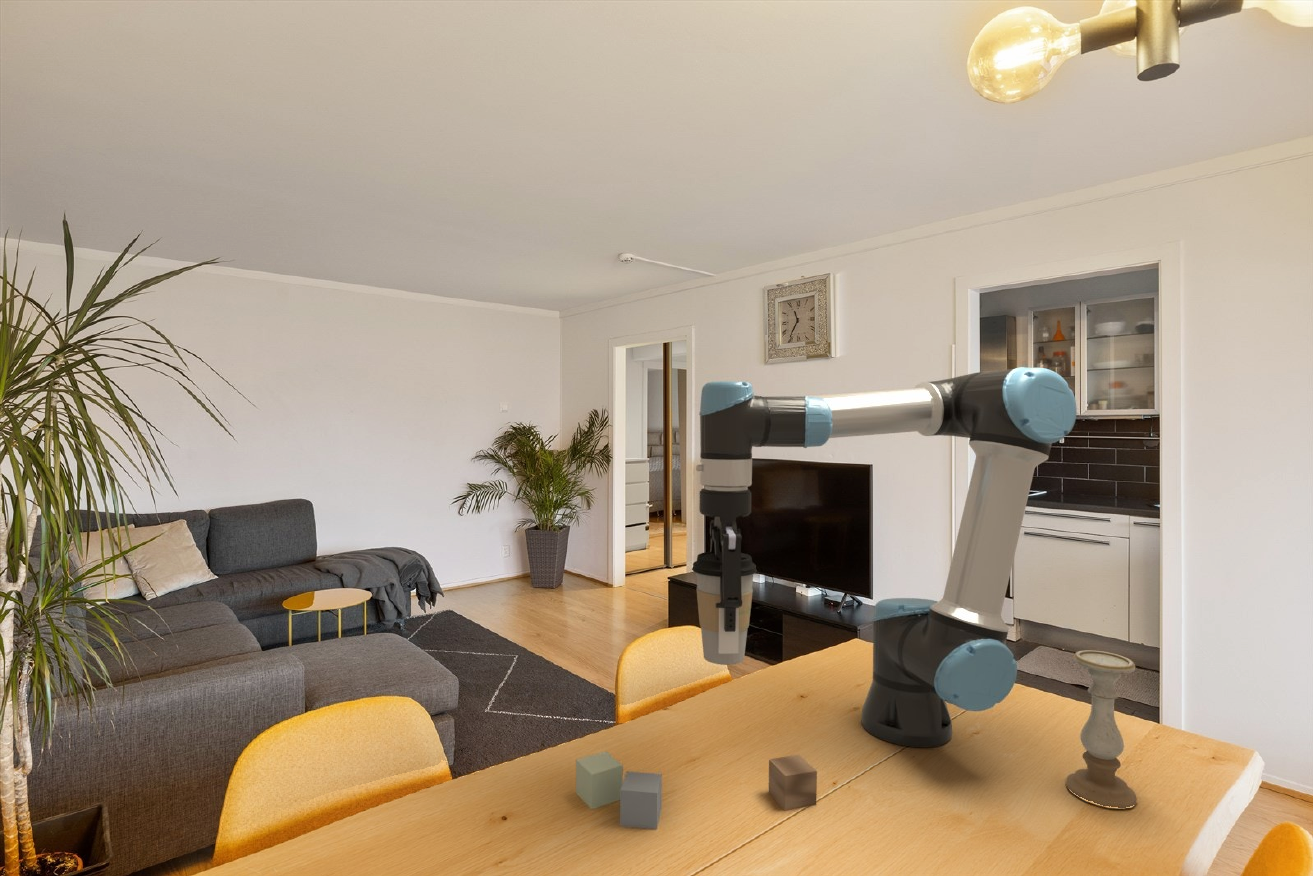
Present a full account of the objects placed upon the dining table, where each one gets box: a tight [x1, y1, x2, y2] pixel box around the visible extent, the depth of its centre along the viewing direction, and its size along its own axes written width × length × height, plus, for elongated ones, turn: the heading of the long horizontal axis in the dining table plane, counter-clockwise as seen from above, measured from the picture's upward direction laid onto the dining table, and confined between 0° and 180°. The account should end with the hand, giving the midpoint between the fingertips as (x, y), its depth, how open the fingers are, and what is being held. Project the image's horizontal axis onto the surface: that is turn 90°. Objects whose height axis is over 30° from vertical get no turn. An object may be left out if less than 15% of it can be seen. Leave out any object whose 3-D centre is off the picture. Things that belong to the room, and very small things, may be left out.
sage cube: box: [575, 750, 624, 810], centre depth 100 cm, size 5×5×5 cm
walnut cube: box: [768, 754, 818, 812], centre depth 99 cm, size 5×5×5 cm
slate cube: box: [619, 771, 663, 830], centre depth 94 cm, size 5×5×5 cm
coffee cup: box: [691, 551, 758, 666], centre depth 100 cm, size 9×9×15 cm
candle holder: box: [1065, 649, 1138, 808], centre depth 101 cm, size 9×9×20 cm
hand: (723, 642), depth 100 cm, fingers closed on coffee cup, 8 cm apart
